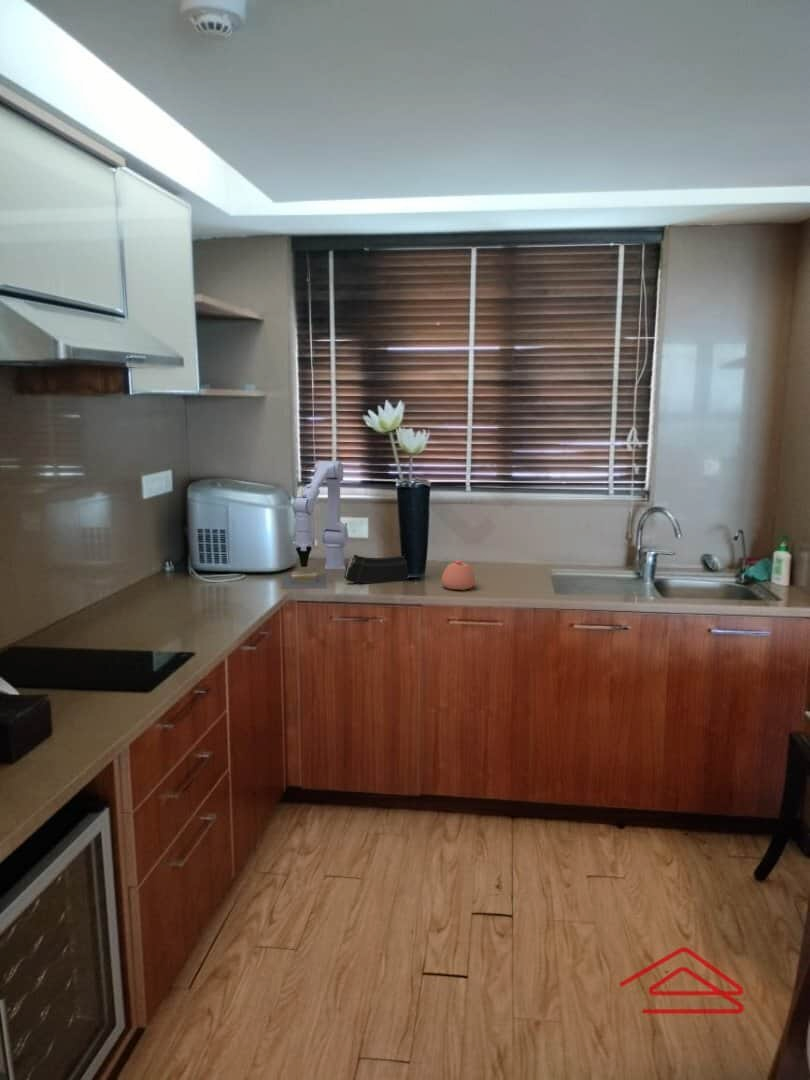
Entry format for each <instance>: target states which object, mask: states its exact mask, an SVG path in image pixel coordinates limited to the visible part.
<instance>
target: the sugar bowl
mask: <svg viewBox="0 0 810 1080" xmlns="http://www.w3.org/2000/svg"><path fill="white" fill-rule="evenodd" d="M441 584H442V585H443V586H444V588H446V589H447V590H449V591H452V590H459V591H461V590H465V591H466V590H468V589H471V588H473V586H474V585H475V584H476V578H475V574H474V571H473V570H472V568H471V566H470V565H469V564H467V563H464V562H463V560H459V559H458V560H455V562H452V563H448V565H447V566H446V567H445V569H444V570H443V573H442V576H441Z"/></svg>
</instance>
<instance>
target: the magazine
mask: <svg viewBox="0 0 810 1080" xmlns="http://www.w3.org/2000/svg"><path fill="white" fill-rule="evenodd" d="M345 569H346V570H345V572H344V575H343V577H344V579H345V580H346V581H347V582H353V584H355V585H356V584H358V583H359V584H382V583H392V582H399V581H405V580H407V579H406V578H407V577H408V567H407V561H406V559H405V556H402V555H397V556H388V557H369V556H367V557H365V556H360V555H358V554H354V555H353V557H351V559H350V560H349V563H348V565H347V566H346V567H345Z"/></svg>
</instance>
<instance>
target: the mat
mask: <svg viewBox="0 0 810 1080" xmlns="http://www.w3.org/2000/svg"><path fill="white" fill-rule="evenodd" d="M280 589H281V590H294V589H295V590H297V589H299V590H300V589H308V590H309V589H327V577H326V574H316V583H292V574H284V575H283V578H282V581H281V588H280Z"/></svg>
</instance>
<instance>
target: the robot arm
mask: <svg viewBox="0 0 810 1080" xmlns="http://www.w3.org/2000/svg"><path fill="white" fill-rule="evenodd" d="M342 481H344V465H343V463H342V462H341V461H340V460H338V461H336V460H335V461H334V460H333V461H332V460H317V461H316V462H315V464H314V474H313V478H312V479H311V482H310V483H308V484H306V485H305V486H304V488H303V490H302V492H301V494H300V496H299V497H296V498H295V499H293V502H292V507H291V508H292V512H293V517H294V518H295V541H292V545H296V548H295V550H296V553H297V555H298V559H299V563H300V566H301V568H307V567H308V562H309V557H310V554H311V551H312V545H313V542H312V535H313V534H312V514H313V513H314V510H315V505H316V500H317V499H318V497H319V495H320V491H321V490H320V487H321V486H322V485H323V484H324V483H325V482H326V484H327V523H325V524H324V525H323V526H322V528H321V529H322V531H321V534H320V535H321V537H320V538H321V542H322V544H323V546H324V547H325V563H324V568H325V569H324V570H345V569H346V565H345V546H346V545H347V544H348V542H349V533H348V526H347V525H345V524H344V523H343V522H342V521H341V482H342Z"/></svg>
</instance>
